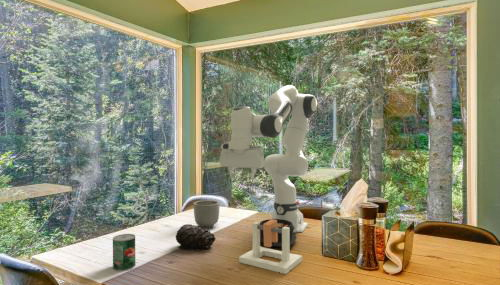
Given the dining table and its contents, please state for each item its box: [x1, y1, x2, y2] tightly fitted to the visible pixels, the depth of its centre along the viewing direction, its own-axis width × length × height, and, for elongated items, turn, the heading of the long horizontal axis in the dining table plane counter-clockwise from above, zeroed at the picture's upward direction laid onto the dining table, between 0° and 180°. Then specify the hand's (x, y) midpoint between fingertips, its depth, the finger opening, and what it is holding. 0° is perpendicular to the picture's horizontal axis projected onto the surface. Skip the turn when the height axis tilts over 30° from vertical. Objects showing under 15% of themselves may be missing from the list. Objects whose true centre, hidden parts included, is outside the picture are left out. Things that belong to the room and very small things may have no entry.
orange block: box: [263, 218, 278, 248], centre depth 120 cm, size 6×2×8 cm, turn 147°
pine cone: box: [175, 223, 216, 252], centre depth 137 cm, size 10×18×10 cm, turn 84°
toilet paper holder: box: [238, 221, 303, 275], centre depth 120 cm, size 20×14×14 cm
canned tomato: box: [112, 233, 136, 272], centre depth 117 cm, size 8×8×11 cm
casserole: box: [260, 218, 297, 247], centre depth 145 cm, size 25×19×8 cm
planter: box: [192, 199, 221, 230], centre depth 168 cm, size 14×14×13 cm
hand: (242, 178), depth 131 cm, fingers open, 8 cm apart
